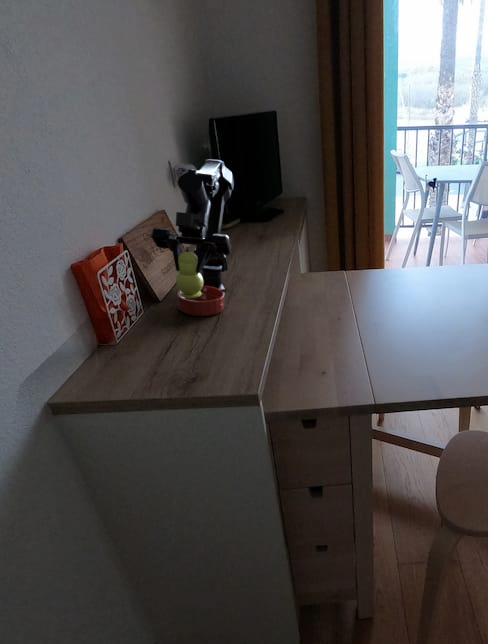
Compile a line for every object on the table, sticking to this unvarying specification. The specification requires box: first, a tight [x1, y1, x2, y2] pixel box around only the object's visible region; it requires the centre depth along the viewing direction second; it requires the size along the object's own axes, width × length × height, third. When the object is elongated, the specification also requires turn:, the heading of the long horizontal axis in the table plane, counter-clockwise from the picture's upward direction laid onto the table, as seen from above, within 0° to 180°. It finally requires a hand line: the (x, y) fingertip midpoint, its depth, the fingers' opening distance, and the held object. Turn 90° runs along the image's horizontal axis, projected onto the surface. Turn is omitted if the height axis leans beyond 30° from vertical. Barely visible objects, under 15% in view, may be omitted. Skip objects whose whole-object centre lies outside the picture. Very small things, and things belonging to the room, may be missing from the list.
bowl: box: [176, 286, 226, 317], centre depth 127 cm, size 12×12×4 cm
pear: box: [175, 246, 203, 298], centre depth 116 cm, size 7×7×12 cm
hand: (187, 271), depth 115 cm, fingers closed on pear, 4 cm apart
